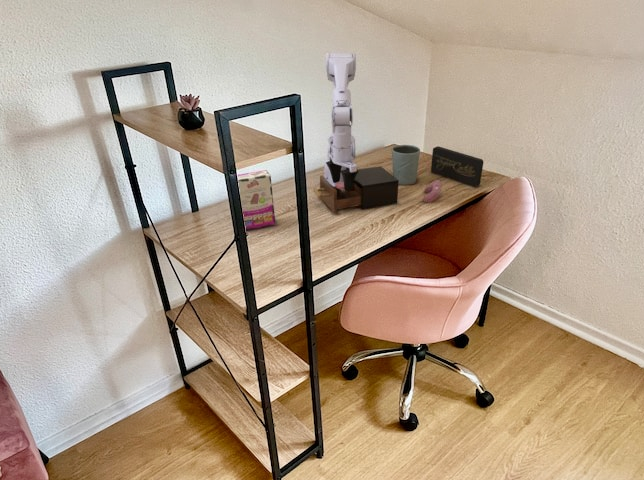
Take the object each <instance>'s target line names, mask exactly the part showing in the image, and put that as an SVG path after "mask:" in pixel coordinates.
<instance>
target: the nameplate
mask: <svg viewBox="0 0 644 480" xmlns="http://www.w3.org/2000/svg"><path fill="white" fill-rule="evenodd" d="M431 153H432V155H431V166H430V171H431V173H432V174H435V175H438V176H441V177H443V178H447V179H450V180H453V181H455V182H458V183H462V184H465V185H467V186H470V187H473V188H477V187H479V186H480V185H481V180H482V175H483V168H484V160H483V158H480V157H476V156H472V155H468V154H466V153H462V152H460V151H456V150H452V149H448V148H445V147H442V146H439V145H438V146H435V147H432V152H431Z"/></svg>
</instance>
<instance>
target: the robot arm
mask: <svg viewBox="0 0 644 480" xmlns="http://www.w3.org/2000/svg"><path fill="white" fill-rule="evenodd" d="M325 66H326V67H325V70H326V78H327V80H328V81H330V82H332V84H333V88H334V89H333V90H332V108H331V110H330V118H331V119H330V120H331V129H332V130H331V131H332V134H330V135H328V138H327V143H326V145H327V146H326V147H327V150H326V151H327V159H326V160H325V163H324V178H325V179H326V180H327V181H328V182H329V183H330V184H331V185H332V186H335V184H336V183H337V182H344V189H345V191H349V190H351V189H352V185H353V182H354V179H355V177H356V175H357V174H358V169H359V168H358V166H357V164H355V162H354V160H355V159H356V138H355V136H354V135H353V134H352V126H353V123H354V110H353V105H352V93H351V90H350V89H349V88H348V87H349V84H350V82H352V81H354V80H355V77H356V70H357V54H356V52H354V51H353V52H327V53H325Z"/></svg>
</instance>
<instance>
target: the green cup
mask: <svg viewBox="0 0 644 480" xmlns="http://www.w3.org/2000/svg"><path fill="white" fill-rule="evenodd" d="M420 154H421V148H420V147H418V146H416V145H412V144H399V145H395V146H393V147H392V148H391V159H392V160H391V161H392V163H391V164H392V175H393V176H394V177H395V178H396V179H398V180H399V182H398V185H400V186H409V185H414V184H415V183H416V182H417V177H418V170H419V160H420Z"/></svg>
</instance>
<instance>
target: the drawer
mask: <svg viewBox="0 0 644 480" xmlns="http://www.w3.org/2000/svg"><path fill="white" fill-rule="evenodd" d="M312 191H313V192H314V194H315V195H316V196H317V198H318V199H319V200H322V201H323V202H324V204H325V205H326V206H327V207H328V208H329V209H330V211H331V212H332V213H333V214H335V215H336V214H338V210H340V209H341V210H342V209H346V208H352V207H357V206H358V207H359V205H361V204H362V189H361V188H360V187H359V186H358V185H357V184H356V183H353V185H352V189H351V190H349V198H347V199H341V200H337V190H336V189H335V186H332V185H331V184H330V183H329V182H328V181H327V180H326V179H325V176H324V175H319V188H316V187H314V188H313V189H312Z"/></svg>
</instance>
